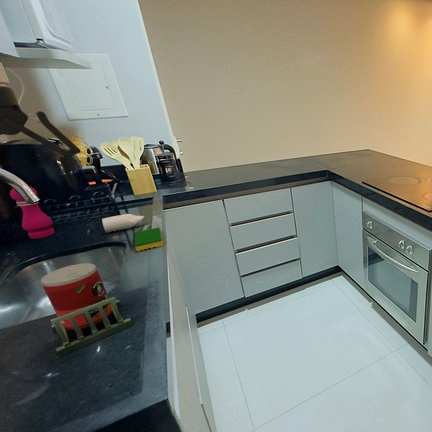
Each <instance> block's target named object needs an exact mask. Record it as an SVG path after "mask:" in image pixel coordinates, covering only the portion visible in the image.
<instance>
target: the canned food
mask: <svg viewBox="0 0 432 432" xmlns="http://www.w3.org/2000/svg"><path fill="white" fill-rule="evenodd" d="M40 282H41V287H42V288H43V291H44V292H45V294H46V297H47V298H48V301H49V302H50V304H51V306H52V308H53V310H54V312H55V314H56V317H60V316H63V315H65V314H68V313H71V312H74V311H76V310H79V309H82V308H85V307H87V306H90V305H93V304H95V303H98V302H101V301H104V300H106V299H109V298H110V297H109V295H108V291H107V290H106V287H105V285H104V283H103V280H102V277H101V275H100V273H99V270H98V268H97V266H96V265H95V264H93V263H85V262H84V263H77V264H72V265H68V266H64V267H61V268H58V269H55V270H53V271H51V272H49V273H47V274H46V275H44V276H43V277H42V278H41V279H40ZM102 308H103V310H104V313H105V315H106V317H107V318H108V317H109V316H110V315H111V314H112V313H113V312H112V305H111V303H108V304H105V305H103V306H102ZM88 312H89V314H90V317H91V319H92V321H93V323H94V324H95V325H96V324H98V323H100V322H103V321H102V320H103V319H102V316H101V314H100V312H99V309H98V307H97V308H95V309H92V310H89V311H88ZM74 318H75V320H76V322H77V324H78V327H79V329H85V328H88V327H89V328H90V325H89V323H88V321H87V319H86V317H85V314H84V313H81V314H79V315H76V316H74ZM60 322H61V324H62V325H63V326H64V327H65V328H66V330H75V329H74V327H73V325H72V323H71V321H70V319H69V318H68V319H65V320H63V321H60Z"/></svg>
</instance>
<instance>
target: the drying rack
mask: <svg viewBox="0 0 432 432" xmlns="http://www.w3.org/2000/svg"><path fill="white" fill-rule="evenodd" d="M108 303H111V305H112V312H111V313H113V315H114V317H115V319H116V321H117V322H116V323H114V324H112V325H111V323H110V320H109V318H108V317H106V315H105V313H104V310H103V308H102V306H103V305H105V304H108ZM122 306H123V305H122V303H121V301H120V299H116V297H115V296H112V297H109V299H106V300H104V301H101V302H98V303H95V304H93V305H90V306H87V307H85V308H82V309H79V310H76V311H74V312H71V313H68V314H65V315H63V316H60V317H58V316H56V317H54V318H52V319H50V323H51V326H50V327H51V329H52V331H53V333H54V334H55V333H57V334H58V335H59V338H60V339H61V342H62V345H61V346H59V347H56V348H55V351H56V354H57V356H58V357H59V358H61V357H64V356H66V355H68V354H71V353H73V352H75V351H78V350H80V349H82V348H84V347H86V346H89V345H91V344H94V343H96V342H98V341H101V340H102V339H105V338H107V337H110V336H112V335H114V334H116V333H119V332H121V331H123V330H126V329H128V328H131V327H133V322H132V320H131V318H130V317H128V318H126V319H123V317H122V316H121V313H120V310H119V308H122ZM97 307H98V309H99V312H100V314H101V316H102V319H103V320H102V321H101V322H102V323H103V326H104V328H102V329H99V330H98V328H97V326H96V324H94V323H93V321H92V319H91V317H90V314H89V312H88V311H89V310H92V309H95V308H97ZM81 313H84V314H85V317H86V319H87V321H88V323H89V325H90V326H89V329H90V331H91V333H90V334H88V335H84V333H83V328H81V329H79V327H78V324H77V322H76V320H75V318H74V316H76V315H79V314H81ZM68 318H69V319H70V321H71V323H72V325H73V327H74V329H73V330H74V332H75V333H76V337H77V339H76V340H73V341H71V342H70V338H69V334H68V331H67V330H68V329H67V328H65V327H64V326H63V325H62V324H61V322H60V321H63V320H65V319H68Z"/></svg>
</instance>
